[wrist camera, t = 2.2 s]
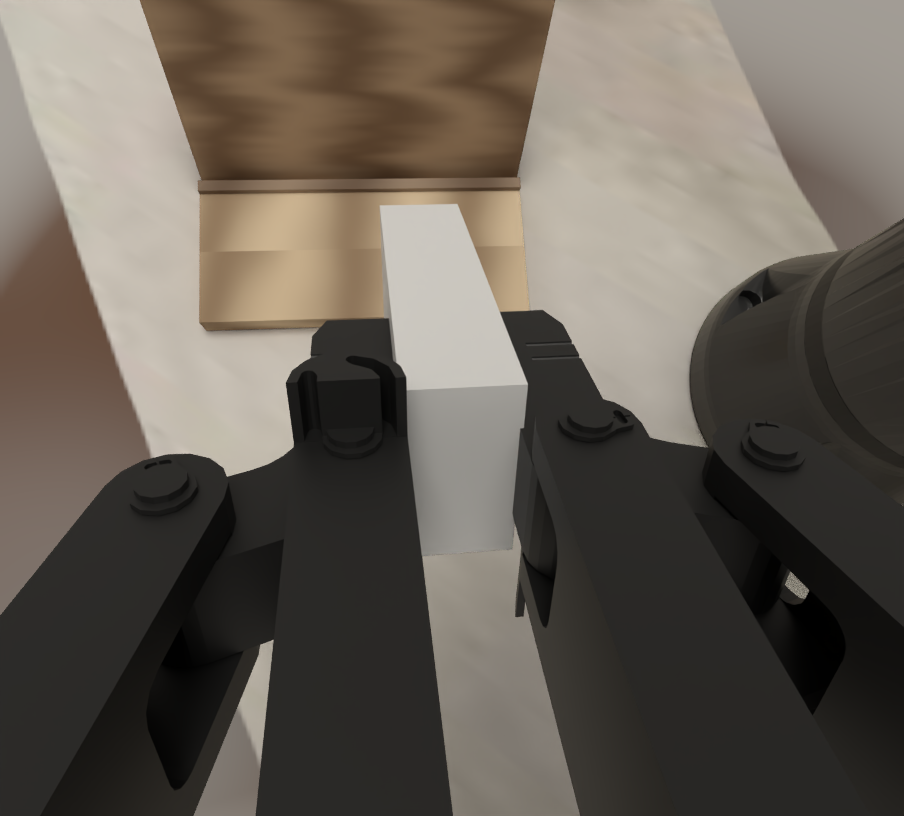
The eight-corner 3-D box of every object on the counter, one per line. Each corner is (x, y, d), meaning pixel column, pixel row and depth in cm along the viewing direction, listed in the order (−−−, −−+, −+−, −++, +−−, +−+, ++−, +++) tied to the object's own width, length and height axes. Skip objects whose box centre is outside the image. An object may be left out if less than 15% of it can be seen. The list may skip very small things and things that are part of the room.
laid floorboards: (513, 193, 42) (520, 177, 40) (524, 320, 41) (531, 310, 39) (206, 196, 40) (197, 180, 38) (206, 330, 39) (197, 320, 37)
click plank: (512, 164, 42) (557, -57, 30) (515, 183, 42) (562, -35, 30) (205, 166, 40) (128, -68, 29) (203, 186, 40) (124, -45, 28)
